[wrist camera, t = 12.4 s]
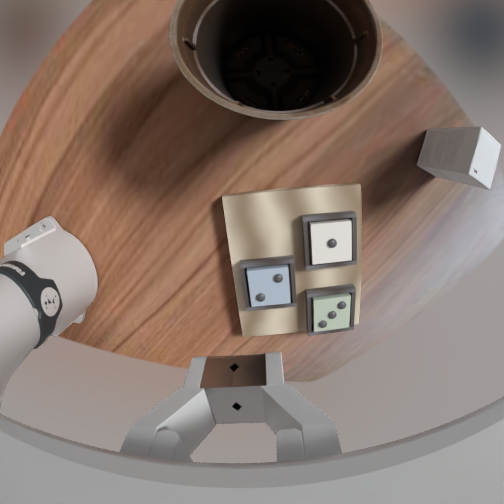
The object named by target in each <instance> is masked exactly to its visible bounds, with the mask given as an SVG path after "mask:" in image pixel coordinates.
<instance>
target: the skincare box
mask: <svg viewBox="0 0 504 504" xmlns="http://www.w3.org/2000/svg"><path fill="white" fill-rule="evenodd" d="M500 147H501V144H499V143H498V142H497V141H496V140H495V139H494V138H493V137H492V136H491V135H490V134H489V133H488V132H487V131H486V130H484V129H483V128H482V127H454V128H434V129H427V132H426V136H425V139H424V143H423V146H422V149H421V152H420V155H419V158H418V161H417V164H416V165H417V166H418V167H420V168H422V169H423V170H425V171H427V172H428V173H430V174H432V175H434V176H435V177H437V178H442V179H446V180H451V181H456V182H460V183H464V184H469V185H473V186H477V187H481V188H484V189H490V187H491V183H492V180H493V176H494V172H495V169H496V165H497V161H498V156H499V152H500Z"/></svg>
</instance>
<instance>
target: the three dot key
mask: <svg viewBox="0 0 504 504" xmlns="http://www.w3.org/2000/svg"><path fill="white" fill-rule="evenodd" d="M350 304H351V295H350V294H349V293H343V294H335V295H327V296H319V297H312V326H313V330H314V332H319V331H326V330H334V329H341V328H348V327H349V322H350Z"/></svg>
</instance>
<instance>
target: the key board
mask: <svg viewBox="0 0 504 504" xmlns="http://www.w3.org/2000/svg"><path fill="white" fill-rule="evenodd" d="M222 201H223V208H224V215H225V222H226V230H227V237H228V243H229V250H230V257H231V264H232V271H233V277H234V284H235V290H236V297H237V303H238V310H239V316H240V322H241V328H242V335H243V337H250V336H262V335H273V334H284V333H293V332H302V331H307V333H308V336H311V335H319V334H327V333H334V332H341V331H348V330H354V324H358V323H359V309H360V292H361V267H362V205H361V185H360V184H357V183H345V184H329V185H315V186H303V187H291V188H280V189H270V190H260V191H251V192H242V193H233V194H225V195H223V196H222ZM342 218H348V219H350V220H351V224H352V260H350V261H341V262H332V263H323V264H314V265H313V264H312V262H311V260H310V244H309V227H308V221H319V220H330V219H342ZM280 264H288V271H289V285H290V300H291V303H287V304H277V305H267V306H256V307H252V305H251V298H250V290H249V283H248V275H247V268H249V267H260V266H270V265H280ZM343 293H349V294H350V295H351V304H350V322H349V327H348V328H341V329H334V330H326V331H319V332H314V330H313V326H312V297H319V296H327V295H335V294H343Z"/></svg>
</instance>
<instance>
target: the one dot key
mask: <svg viewBox="0 0 504 504" xmlns="http://www.w3.org/2000/svg"><path fill="white" fill-rule="evenodd" d="M308 227H309V244H310V260H311V262H312V264H313V265H314V264H323V263H332V262H341V261H350V260H352V224H351V220H350V219H348V218H342V219H330V220H319V221H308Z"/></svg>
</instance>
